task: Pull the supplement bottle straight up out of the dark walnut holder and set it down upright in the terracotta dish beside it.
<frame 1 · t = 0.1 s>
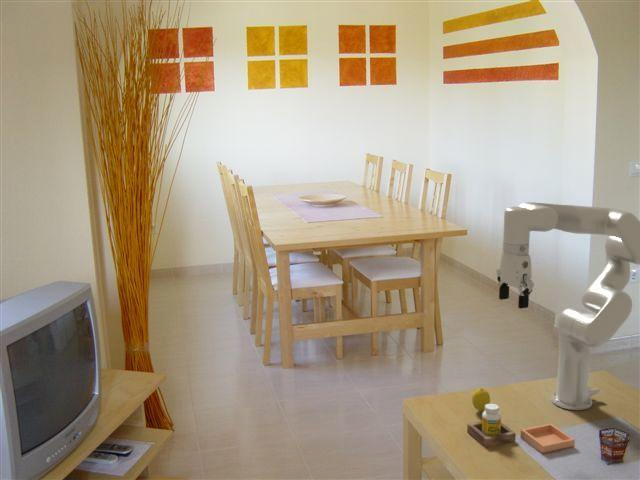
hand: (513, 303, 211), 37 cm above the table, tool pointing down, fingers open, 9 cm apart
dish: (546, 442, 202), on the table
supplement bottle: (490, 437, 206), resting in holder
holder: (490, 436, 206), on the table
lemon: (480, 412, 222), on the table
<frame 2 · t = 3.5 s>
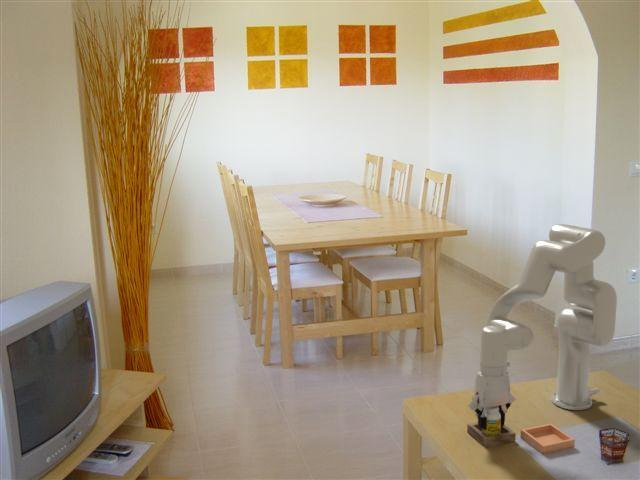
hand: (491, 425, 205), 4 cm above the table, tool pointing down, fingers closed on supplement bottle, 5 cm apart
supplement bottle: (490, 436, 206), resting in holder, touching gripper
everything else where it was.
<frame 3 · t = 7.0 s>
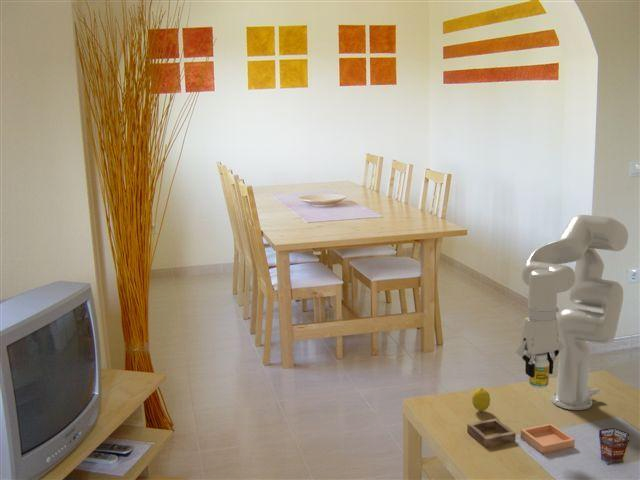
hand: (539, 373, 198), 21 cm above the table, tool pointing down, fingers closed on supplement bottle, 5 cm apart
supplement bottle: (538, 385, 199), point 17 cm above the table, touching gripper
everything else where it was.
when the fingers open (5 cm above the table, at t = 10.8 s): supplement bottle drops 1 cm, resting on dish.
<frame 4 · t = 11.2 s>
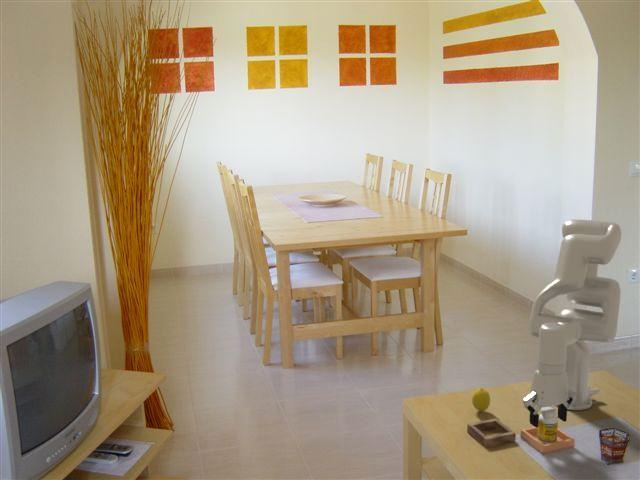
hand: (548, 422, 200), 6 cm above the table, tool pointing down, fingers open, 9 cm apart
supplement bottle: (546, 440, 202), resting on dish
everything else where it was.
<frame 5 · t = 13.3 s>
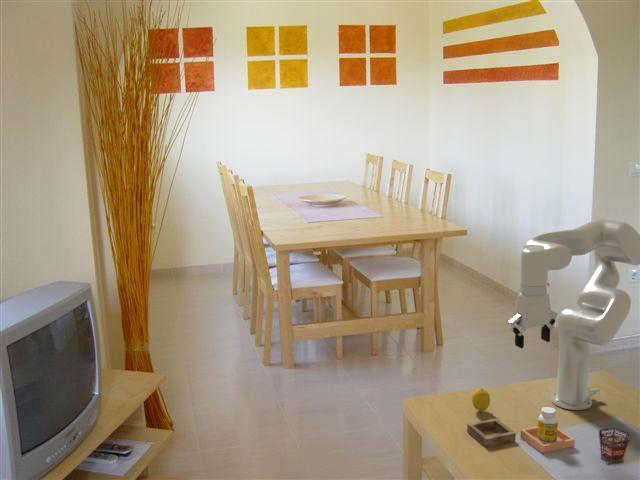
hand: (532, 343, 208), 26 cm above the table, tool pointing down, fingers open, 9 cm apart
nothing on the table moved.
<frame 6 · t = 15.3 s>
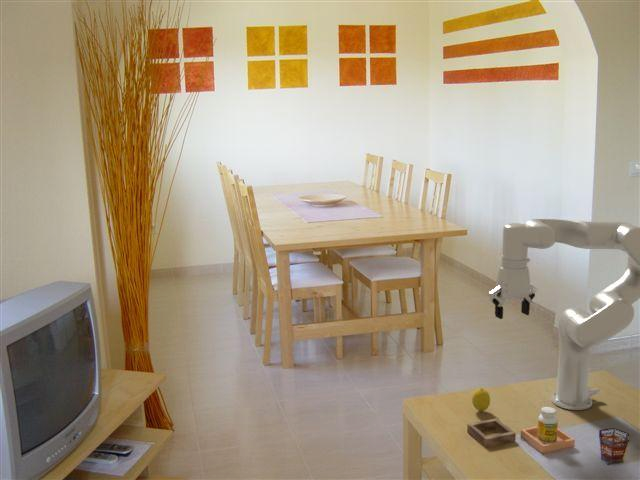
hand: (512, 315, 220), 30 cm above the table, tool pointing down, fingers open, 9 cm apart
nothing on the table moved.
at the end: supplement bottle 0.1 cm off-centre on the dish, point 0.4 cm above the dish's base; supplement bottle tilted 0°; the gripper is holding nothing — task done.
